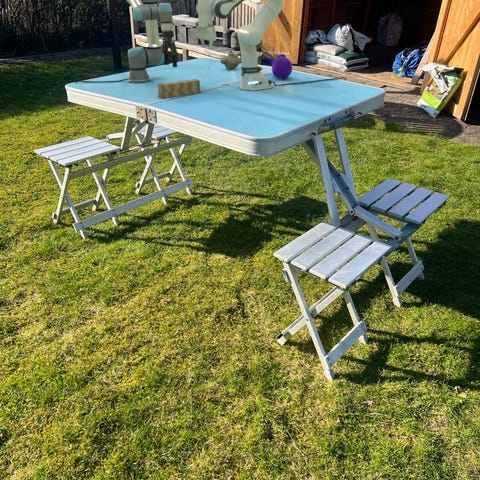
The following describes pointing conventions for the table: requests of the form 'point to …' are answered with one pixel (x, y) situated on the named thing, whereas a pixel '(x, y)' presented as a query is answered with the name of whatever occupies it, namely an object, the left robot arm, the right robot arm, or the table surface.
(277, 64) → the toy
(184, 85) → the bar
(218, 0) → the right robot arm
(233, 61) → the teapot
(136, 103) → the table surface
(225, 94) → the table surface
